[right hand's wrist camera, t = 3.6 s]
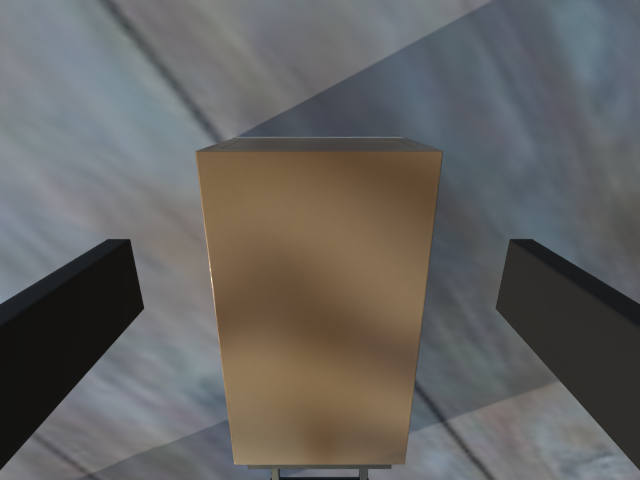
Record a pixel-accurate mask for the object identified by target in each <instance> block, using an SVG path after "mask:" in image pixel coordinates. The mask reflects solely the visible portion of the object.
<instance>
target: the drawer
mask: <svg viewBox="0 0 640 480" xmlns="http://www.w3.org/2000/svg"><path fill="white" fill-rule="evenodd" d="M391 465H392V464H302V465H248V469H271V474H272V477H271V480H369V479H368V469H391ZM280 469H359V477H280Z"/></svg>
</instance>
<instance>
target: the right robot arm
mask: <svg viewBox="0 0 640 480" xmlns="http://www.w3.org/2000/svg"><path fill="white" fill-rule="evenodd" d="M143 309H144V305H143V300H142V295H141V290H140V286H139V281H138V276H137V271H136V266H135V261H134V256H133V251H132V246H131V241H130V239H107V240H106V241H104V242H102V243H101V244H99V245H97V246H96V247H94V248H93V249H91V250H89V251H88V252H86V253H84V254H83V255H81V256H79V257H78V258H76V259H74V260H73V261H71V262H69V263H68V264H66V265H64V266H63V267H61V268H59V269H58V270H56V271H55V272H53V273H51V274H50V275H48V276H46V277H45V278H43V279H41V280H40V281H38V282H36V283H35V284H33V285H31V286H30V287H28V288H26V289H25V290H23V291H21V292H20V293H18V294H17V295H15V296H13V297H12V298H10V299H8V300H7V301H5V302H3V303H2V304H0V470H1V469H2V468H3V467H4V466H5V464H6V463H7V462H8V461H9V460H10V459H11V458H12V457H13V455H14V454H15V453H16V452H17V451H18V450H19V449H20V448H21V446H22V445H23V444H24V443H25V442H26V441H27V440H28V439H29V437H30V436H31V435H32V434H33V433H34V432H35V431H36V430H37V428H38V427H39V426H40V425H41V424H42V423H43V422H44V421H45V419H46V418H47V417H48V416H49V415H50V414H51V413H52V412H53V410H54V409H55V408H56V407H57V406H58V405H59V404H60V403H61V401H62V400H63V399H64V398H65V397H66V396H67V395H68V394H69V392H70V391H71V390H72V389H73V388H74V387H75V386H76V385H77V383H78V382H79V381H80V380H81V379H82V378H83V377H84V376H85V374H86V373H87V372H88V371H89V370H90V369H91V368H92V367H93V365H94V364H95V363H96V362H97V361H98V360H99V359H100V358H101V356H102V355H103V354H104V353H105V352H106V351H107V350H108V349H109V347H110V346H111V345H112V344H113V343H114V342H115V341H116V340H117V338H118V337H119V336H120V335H121V334H122V333H123V332H124V331H125V330H126V328H127V327H128V326H129V325H130V324H131V323H132V322H133V321H134V319H135V318H136V317H137V316H138V315H139V314H140V313H141V312H142V310H143ZM496 309H497V310H498V312H499V313H500V314H501V315H502V316H503V317H504V318H505V319H506V321H507V322H508V323H509V324H510V325H511V326H512V327H513V328H514V330H515V331H516V332H517V333H518V334H519V335H520V336H521V337H522V338H523V340H524V341H525V342H526V343H527V344H528V345H529V346H530V347H531V349H532V350H533V351H534V352H535V353H536V354H537V355H538V356H539V358H540V359H541V360H542V361H543V362H544V363H545V364H546V365H547V367H548V368H549V369H550V370H551V371H552V372H553V373H554V374H555V376H556V377H557V378H558V379H559V380H560V381H561V382H562V383H563V385H564V386H565V387H566V388H567V389H568V390H569V391H570V392H571V394H572V395H573V396H574V397H575V398H576V399H577V400H578V401H579V403H580V404H581V405H582V406H583V407H584V408H585V409H586V410H587V412H588V413H589V414H590V415H591V416H592V417H593V418H594V419H595V421H596V422H597V423H598V424H599V425H600V426H601V427H602V428H603V430H604V431H605V432H606V433H607V434H608V435H609V436H610V437H611V439H612V440H613V441H614V442H615V443H616V444H617V445H618V446H619V448H620V449H621V450H622V451H623V452H624V453H625V454H626V455H627V457H628V458H629V459H630V460H631V461H632V462H633V463H634V464H635V466H636V467H637V468H638V469H639V470H640V304H638V303H637V302H635V301H633V300H632V299H630V298H628V297H627V296H625V295H623V294H622V293H620V292H619V291H617V290H615V289H614V288H612V287H610V286H609V285H607V284H605V283H604V282H602V281H600V280H599V279H597V278H595V277H594V276H592V275H590V274H589V273H587V272H585V271H584V270H582V269H581V268H579V267H577V266H576V265H574V264H572V263H571V262H569V261H567V260H566V259H564V258H562V257H561V256H559V255H557V254H556V253H554V252H552V251H551V250H549V249H547V248H546V247H544V246H543V245H541V244H539V243H538V242H536V241H534V240H533V239H510V241H509V246H508V251H507V256H506V261H505V266H504V271H503V276H502V281H501V286H500V290H499V295H498V300H497V305H496Z"/></svg>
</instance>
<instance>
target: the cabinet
mask: <svg viewBox="0 0 640 480" xmlns="http://www.w3.org/2000/svg"><path fill="white" fill-rule="evenodd" d="M195 153H196V161H197V169H198V177H199V185H200V194H201V202H202V210H203V218H204V226H205V234H206V242H207V250H208V258H209V266H210V274H211V282H212V290H213V298H214V306H215V314H216V322H217V330H218V338H219V346H220V354H221V362H222V370H223V378H224V386H225V394H226V402H227V410H228V418H229V426H230V434H231V442H232V450H233V458H234V464H235V465H302V464H405V458H406V450H407V442H408V434H409V426H410V417H411V409H412V401H413V393H414V385H415V376H416V368H417V360H418V352H419V344H420V335H421V327H422V319H423V311H424V303H425V294H426V286H427V278H428V270H429V262H430V253H431V245H432V237H433V229H434V221H435V212H436V204H437V196H438V188H439V180H440V171H441V163H442V155H443V151H441V150H438V149H435V148H432V147H429V146H426V145H423V144H420V143H417V142H414V141H412V140H409V139H406V138H404V137H234V138H233V139H230V140H227V141H224V142H221V143H218V144H216V145H213V146H210V147H207V148H204V149H201V150H198V151H196V152H195Z"/></svg>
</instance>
